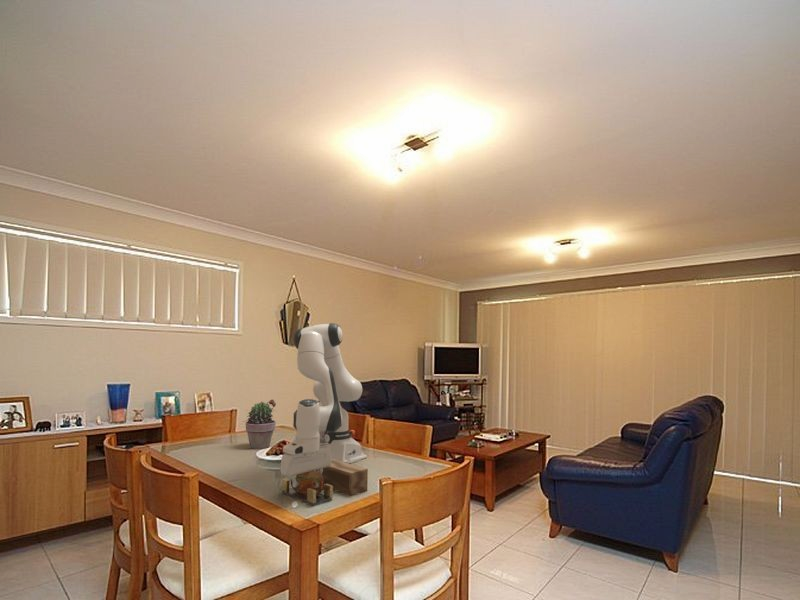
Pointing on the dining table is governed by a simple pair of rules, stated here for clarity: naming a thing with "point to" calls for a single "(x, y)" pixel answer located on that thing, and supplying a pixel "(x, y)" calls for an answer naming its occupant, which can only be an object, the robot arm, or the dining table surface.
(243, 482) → the dining table surface
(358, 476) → the brown wooden block
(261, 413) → the potted plant
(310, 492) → the grey pegged base
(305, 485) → the brown curved piece
